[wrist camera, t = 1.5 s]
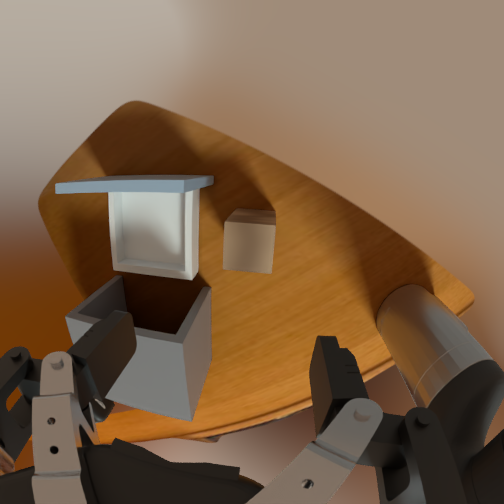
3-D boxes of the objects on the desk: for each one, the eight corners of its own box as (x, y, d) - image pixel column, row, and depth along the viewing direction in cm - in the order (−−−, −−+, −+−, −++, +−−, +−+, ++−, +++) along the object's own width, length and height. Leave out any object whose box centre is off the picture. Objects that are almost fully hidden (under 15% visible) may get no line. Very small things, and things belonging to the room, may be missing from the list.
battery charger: (131, 383, 42) (105, 426, 31) (119, 386, 43) (93, 427, 32) (106, 354, 40) (74, 396, 29) (95, 359, 41) (64, 398, 30)
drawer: (213, 175, 30) (184, 180, 20) (210, 272, 33) (185, 316, 23) (110, 175, 31) (55, 183, 20) (114, 261, 34) (68, 293, 24)
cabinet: (211, 287, 34) (182, 343, 23) (211, 359, 38) (191, 421, 26) (116, 275, 35) (64, 316, 23) (128, 343, 39) (91, 392, 27)
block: (275, 211, 31) (275, 225, 23) (272, 248, 32) (271, 273, 24) (236, 208, 31) (224, 221, 23) (234, 244, 32) (222, 269, 25)
